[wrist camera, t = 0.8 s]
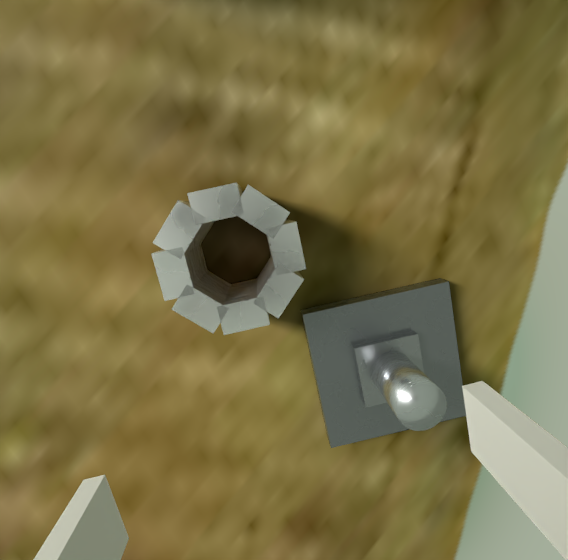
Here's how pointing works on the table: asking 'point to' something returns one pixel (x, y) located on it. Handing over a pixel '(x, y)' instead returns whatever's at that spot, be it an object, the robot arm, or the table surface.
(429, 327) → the shaft block
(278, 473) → the table surface
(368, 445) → the table surface
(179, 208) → the ring
